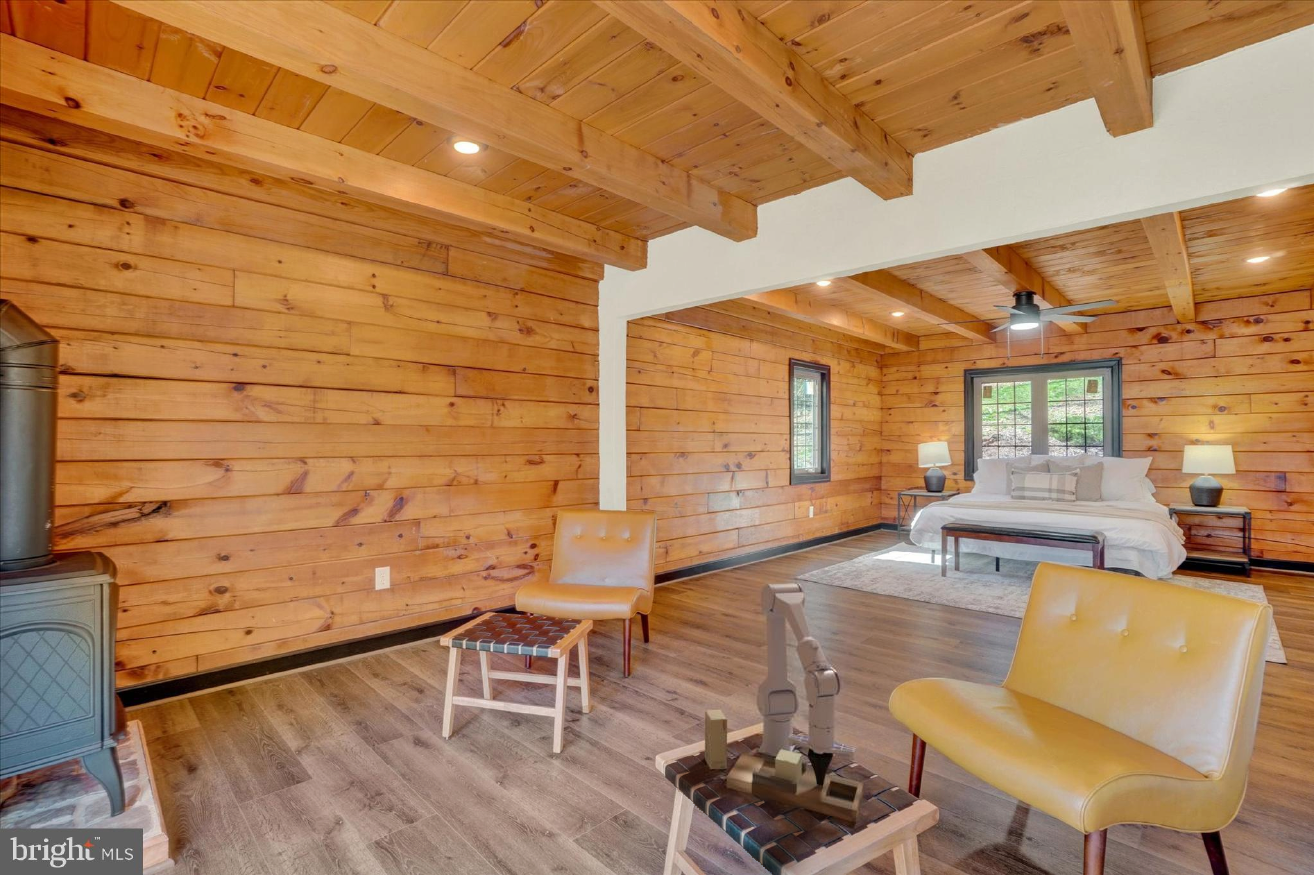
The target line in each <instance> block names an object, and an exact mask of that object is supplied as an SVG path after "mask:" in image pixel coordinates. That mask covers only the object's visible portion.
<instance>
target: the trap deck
mask: <svg viewBox="0 0 1314 875" xmlns="http://www.w3.org/2000/svg"><path fill="white" fill-rule="evenodd" d="M763 757H764V758H762V757H760V756H759V757H758V756H755V755H754V756H753V755H750V754H747V753H741V754H740V756H739V758H738V759H737V760H736V762H735V764H734V765H733V767H732V768H731V769H730V771H729V772H728V774H727V775H726V788H727V789H731V790H734V791H740V792H741V793H746V794H750V795H754V796H756V797H757V796H758V797H760V798H761V797H762V798H765V799H769V800H772V801H775V802H779V803H783V804H787V805H790V806H794V807H797V808H801V809H805V810H809V811H812V812H816V813H818V814H819V813H820V814H824V815H828V816H831V817H835V818H839V819H842V820H846V821H849V822H852V823H853V822H854V823H857V822H858V821H857V820H858V818H859V814H860V810H861V805H862V802H861V801H863V797H864V784H865V783H864V782H860V781H857V780H853V779H849V778H844V777H841V776H836V775H832V774H828V773H826V775H825V781H824V785H823V786H821V785H817V782H816V777H815V773H814V770H813V769H807V761H804V760H802V769H801V778H800V780H799V782H798V784H797V782H794V781H790V780H786V779H782V778H778V777H775V759H776V757H777V755H776V754H772V753H768V752H765V753H763Z"/></svg>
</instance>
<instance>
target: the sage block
mask: <svg viewBox="0 0 1314 875" xmlns="http://www.w3.org/2000/svg"><path fill="white" fill-rule="evenodd" d="M802 755H803V754H802V753H798V752H794V751H792V752H790V751H786V750H782V749H781V750H780V751H779V753H778V755H777V757H776V759H775V777H778V778H782V779H786V780H790V781H794V782H797V784H798V782H799V780H800V778H801V769H802V761H803V759H802V757H803V756H802Z"/></svg>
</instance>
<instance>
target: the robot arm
mask: <svg viewBox="0 0 1314 875" xmlns="http://www.w3.org/2000/svg"><path fill="white" fill-rule="evenodd" d="M804 590H805V589H804V588H803V587H802V585H801V584H800V583H799V582H793V583H791V582H788V583H765V584H764V585H763V587H762V588H761V591H760V606H761V607H760V608H761V613H762V614H765V617H766V618H765V621H766V623H765V624H766V650H767V652H766V653H767V655H766V656H767V676H766V677H765V678H764V679H763V680H762V681H761V682H760V683H758V688H757V695H756V706H757V711H758V712H759V713H760V715H761V716H762V717H763V722H762V724H763V725H762V726H763V727H762V728H763V730H762V731H763V732H762V743H761V745H760V747H759V748H758V750H757V753H760V754H764V753H765V752H768V753H772V754H776V755H778V753H779V751H780V750H781V749H782V750H786V751H790V752H794V750H795V748H796V747H799V748H805V749H808V750H807V751H808V752H807V759H808V760H809V762H810V765H811V766H812V771H814V773H815V777H816V782H817V785H821V786H823V785H824V781H825V775H826V774H827V770H828V768H829V767H830V764H831V762H832V760H833V757H834V756H839V757H843V758H847V759H848V760H849V761H854V760H855V756H856V748H855V747H852V746H848V745H846V744H844V743H841V742H838V741H835V725H836V724H835V718H836V717H835V714H836V712H835V710H836V696H837V695H839V694H840V692H841V687H842V686H841V679H840V676H839V673H838V672H837V670H836V669H835V668H833V666H832V665H831V664H830V663H828V661H827V658H826V656H825V654H824V651H823V649H822V646H821V644H820V641H819V640H817V639H815V638H813V636H812V634H811V630H810V627H809V623H808V620H807V616H806V613H805V611H804V607H805V603H806V596H805V591H804ZM786 619H787V621H788V624H789V626H790V629H791V630H792V633H793V634H794V636H795V638H796V640H797V642H798V643H797V645H796V649H795V650H796V653H797V655H798V658H799V660H800V664H801V666H802V669H803V671H804V674H805V676H804V679H803V684H804V688H805V693H806V701H807V702H808V730H807V731H808V735H805V734H804V735H803V734H794V719H793V718H795V714H796V713H797V712H798V710H799V706H800V700H799V696H798V692H797V691H798V690H797V686H796V684H795V682H793V681H792V680H791V679H790V678H788V658H787V634H786V633H787V630H786Z"/></svg>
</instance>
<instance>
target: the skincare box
mask: <svg viewBox="0 0 1314 875" xmlns="http://www.w3.org/2000/svg"><path fill="white" fill-rule="evenodd" d="M704 715H705V716H704V759H705V762H706V764H707V766H708V768H709V767H710V768H709V769H710V770H711V769H715V770H724V769H725V770H726V769H728V717H727V716H726V714H725V713H724V712H723V710H722V709H706V710H705V711H704Z"/></svg>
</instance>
